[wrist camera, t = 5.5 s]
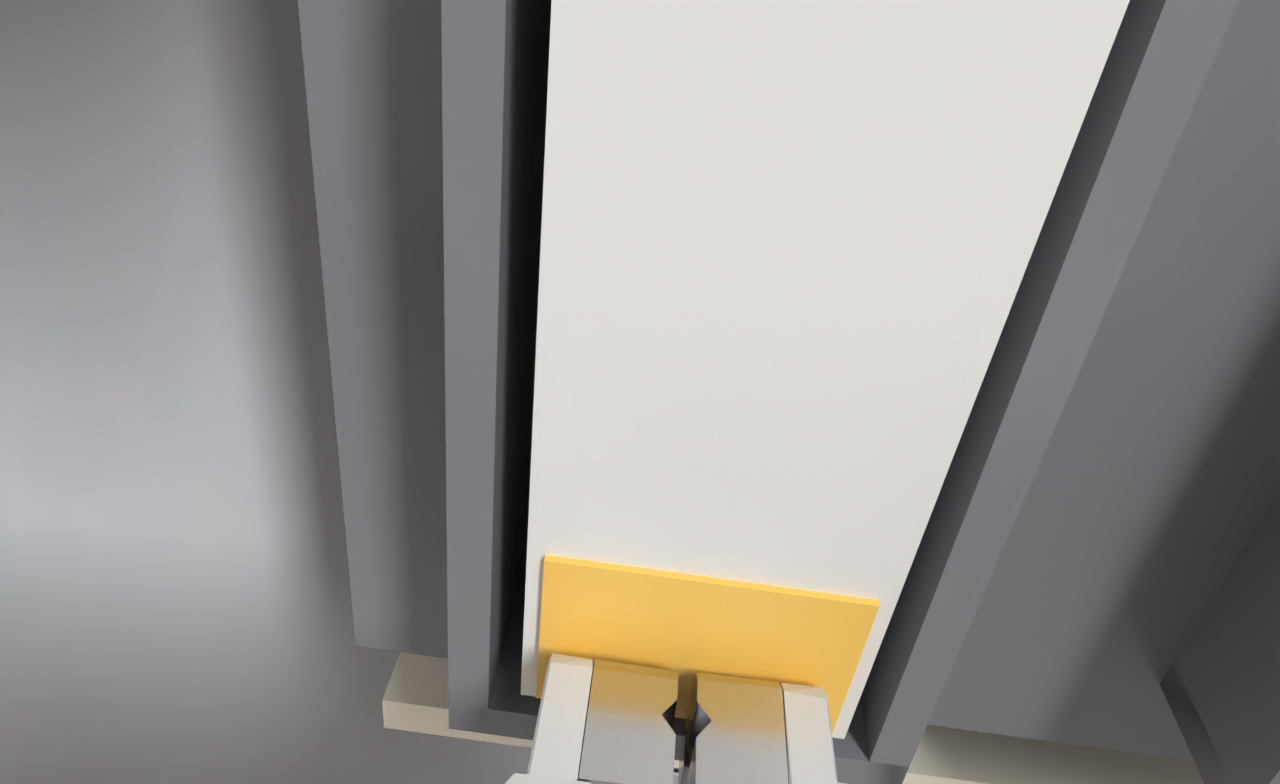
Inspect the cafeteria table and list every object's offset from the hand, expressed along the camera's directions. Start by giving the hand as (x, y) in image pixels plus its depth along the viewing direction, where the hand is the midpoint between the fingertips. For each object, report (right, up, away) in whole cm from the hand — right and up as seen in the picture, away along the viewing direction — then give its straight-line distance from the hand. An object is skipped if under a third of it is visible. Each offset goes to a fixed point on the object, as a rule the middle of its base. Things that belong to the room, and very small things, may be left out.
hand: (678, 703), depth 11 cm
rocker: (+1, +4, -2) cm, 4 cm away
